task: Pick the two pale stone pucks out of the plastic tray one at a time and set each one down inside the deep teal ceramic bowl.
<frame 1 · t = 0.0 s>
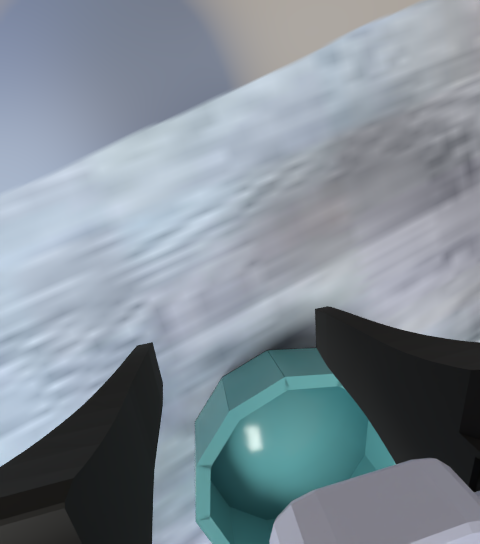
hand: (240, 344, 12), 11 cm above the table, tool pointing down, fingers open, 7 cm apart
bowl: (287, 435, 25), on the table
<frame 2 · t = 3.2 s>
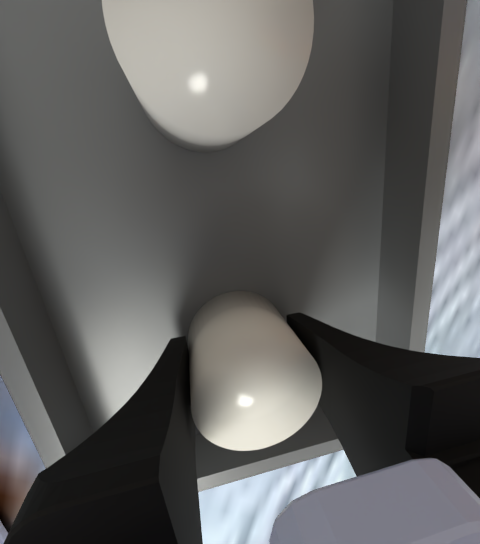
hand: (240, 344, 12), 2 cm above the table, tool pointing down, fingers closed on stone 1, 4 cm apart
stone 2: (201, 83, 10), point 1 cm above the table, touching tray
stone 1: (236, 335, 13), point 1 cm above the table, touching gripper, tray
tray: (219, 224, 12), on the table
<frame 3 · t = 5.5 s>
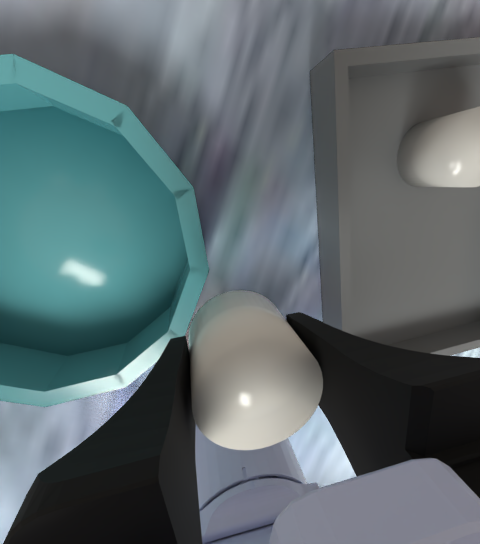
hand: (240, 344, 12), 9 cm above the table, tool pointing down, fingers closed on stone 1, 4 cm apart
stone 2: (424, 154, 20), point 1 cm above the table, touching tray
bowl: (67, 243, 18), on the table
stone 1: (237, 334, 13), point 8 cm above the table, touching gripper
tray: (411, 223, 22), on the table
when the fingers open (3 cm above the table, at t = 7.6 s): stone 1 drops 2 cm, resting on bowl.
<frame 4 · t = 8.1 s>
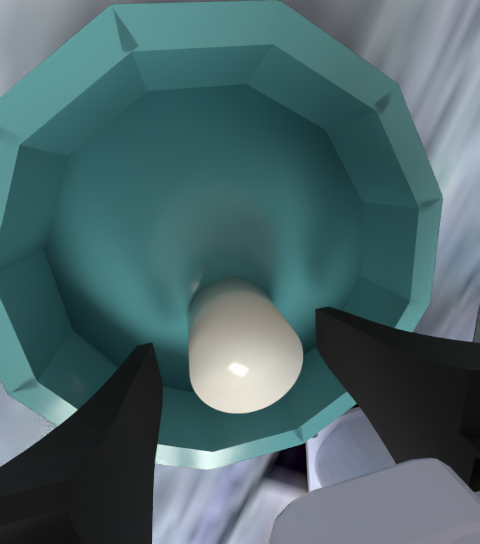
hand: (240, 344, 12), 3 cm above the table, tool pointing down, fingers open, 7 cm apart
bowl: (220, 258, 14), on the table
stone 1: (230, 317, 14), point 1 cm above the table, touching bowl
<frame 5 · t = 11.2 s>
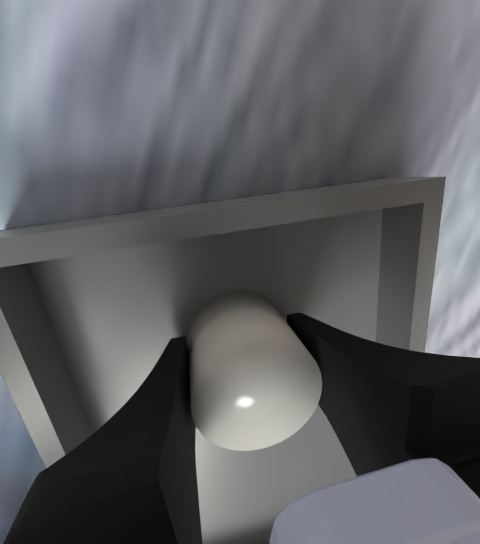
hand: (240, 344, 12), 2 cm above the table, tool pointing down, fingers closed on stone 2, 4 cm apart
stone 2: (236, 335, 13), point 1 cm above the table, touching gripper, tray
tray: (244, 407, 15), on the table
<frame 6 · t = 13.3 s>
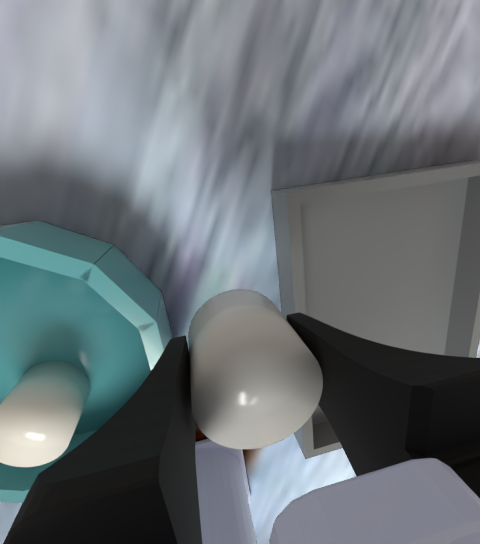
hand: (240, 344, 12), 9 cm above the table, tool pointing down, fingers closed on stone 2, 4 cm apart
stone 2: (237, 334, 13), point 8 cm above the table, touching gripper
bowl: (47, 344, 19), on the table
stone 1: (56, 388, 19), point 1 cm above the table, touching bowl
tray: (371, 309, 24), on the table
when the fingers open (3 cm above the table, at t = 15.6 s): stone 2 drops 2 cm, resting on bowl.
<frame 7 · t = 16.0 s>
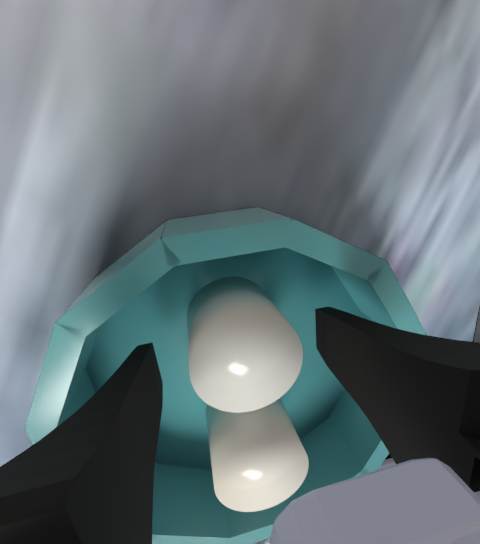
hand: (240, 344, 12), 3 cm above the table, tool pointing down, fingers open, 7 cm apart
stone 2: (230, 317, 14), point 1 cm above the table, touching bowl
bowl: (234, 356, 16), on the table
stone 1: (243, 409, 16), point 1 cm above the table, touching bowl
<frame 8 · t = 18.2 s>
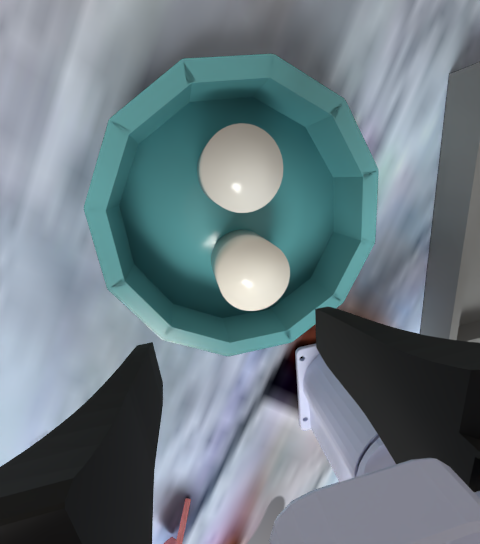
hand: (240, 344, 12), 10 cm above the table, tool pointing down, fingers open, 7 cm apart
stone 2: (230, 172, 18), point 1 cm above the table, touching bowl
bowl: (233, 217, 20), on the table
figurine: (108, 527, 27), on the table
stone 1: (241, 259, 20), point 1 cm above the table, touching bowl
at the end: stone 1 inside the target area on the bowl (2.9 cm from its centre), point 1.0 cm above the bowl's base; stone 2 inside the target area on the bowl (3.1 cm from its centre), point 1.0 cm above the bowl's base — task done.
